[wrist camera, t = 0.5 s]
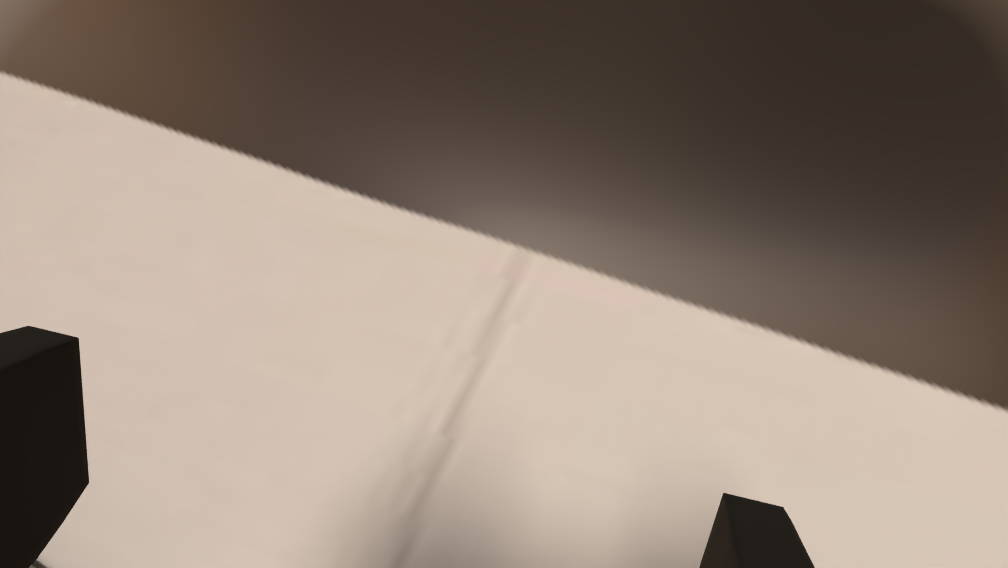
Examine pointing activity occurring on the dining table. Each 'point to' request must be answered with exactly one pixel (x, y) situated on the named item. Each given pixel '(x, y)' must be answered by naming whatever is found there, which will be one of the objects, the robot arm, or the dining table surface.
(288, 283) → the dining table surface
